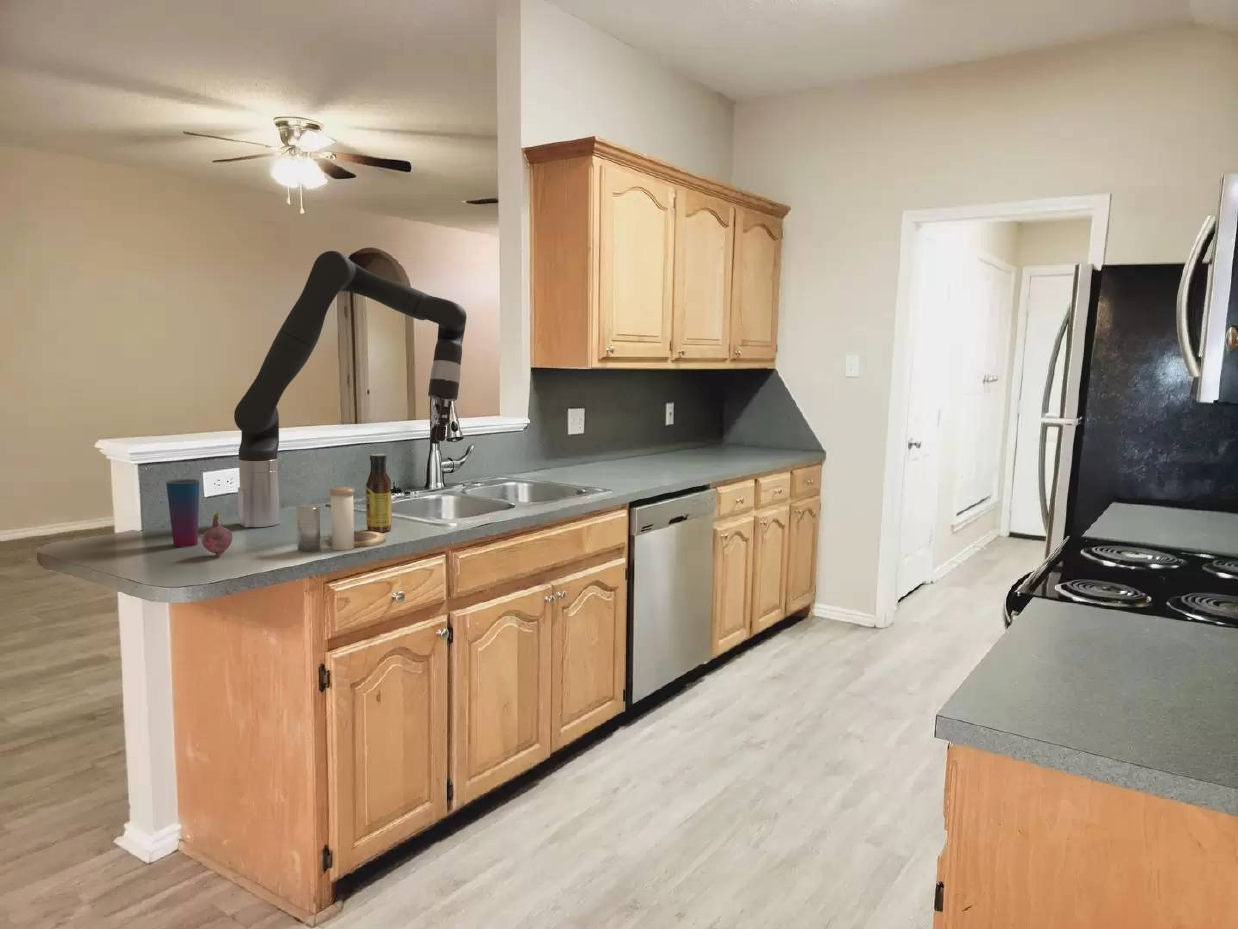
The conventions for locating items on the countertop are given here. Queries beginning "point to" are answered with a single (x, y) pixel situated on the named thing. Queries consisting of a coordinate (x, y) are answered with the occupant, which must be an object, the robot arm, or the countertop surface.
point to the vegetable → (217, 538)
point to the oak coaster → (366, 538)
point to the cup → (184, 510)
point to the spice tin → (308, 528)
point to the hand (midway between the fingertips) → (437, 442)
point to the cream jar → (342, 518)
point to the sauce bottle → (378, 496)
